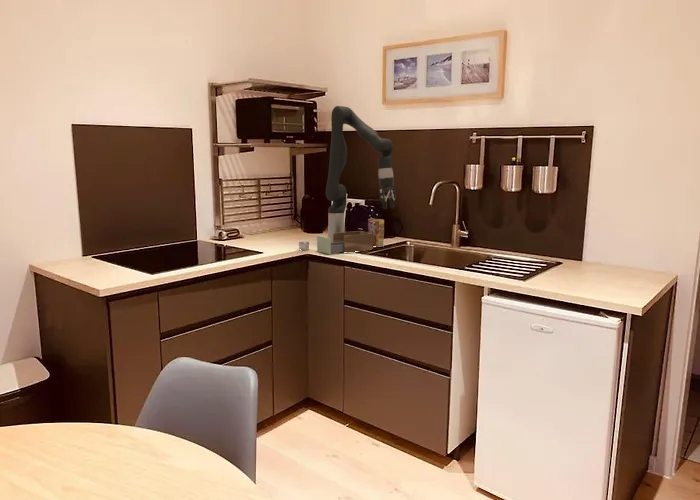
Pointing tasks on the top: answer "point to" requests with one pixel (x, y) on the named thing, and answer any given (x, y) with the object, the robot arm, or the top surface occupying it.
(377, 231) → the candy box
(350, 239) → the sleeve
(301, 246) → the steel tin
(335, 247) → the grey boxy piece
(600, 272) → the top surface
